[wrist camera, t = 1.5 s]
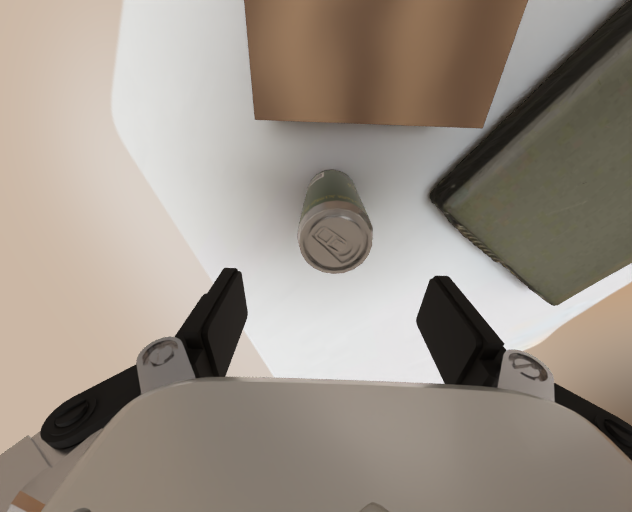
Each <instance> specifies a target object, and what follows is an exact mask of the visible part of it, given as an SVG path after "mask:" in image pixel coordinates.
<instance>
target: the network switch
mask: <svg viewBox="0 0 632 512" xmlns="http://www.w3.org/2000/svg"><path fill="white" fill-rule="evenodd" d="M430 199H431V201H432V203H433V204H435V205H436V206H437V207H438V208H439V209H440V210H441V211H442V212H443V213H444V215H445V216H446V217H447V218H448V221H449V222H450V223H452V225H453V226H454V227H455V228H457V229H458V230H459V232H460V233H461V234H462V235H463V236H464V237H466V238H468V239H469V240H470V241H471V242H473V244H474V245H476V246H477V247H478V248H479V249H481V250H482V251H483V252H484V253H485V254H487V255H488V256H489V257H491V258H492V260H493V261H495V262H501V264H502V265H503V266H504V267H505V268H507V269H509V270H510V272H511V273H512V274H514V275H515V276H517V277H518V279H519V280H520V281H522V282H523V283H524V284H525V285H526V286H528V288H529V289H530V290H532V291H533V292H534V293H536V294H537V295H539V296H540V297H541V298H542V299H544V300H545V301H546V302H548V303H549V304H551V305H553V306H555V305H559V304H560V303H562V302H564V301H565V300H567V299H569V298H570V297H572V296H574V295H576V294H577V293H579V292H581V291H582V290H584V289H586V288H588V287H589V286H591V285H593V284H595V283H596V282H598V281H600V280H602V279H603V278H605V277H607V276H609V275H611V274H612V273H614V272H616V271H618V270H620V269H622V268H623V267H625V266H627V265H629V264H630V263H632V0H630V1H629V2H627V3H626V4H625V5H624V6H623V7H622V8H621V9H620V10H619V11H617V12H616V13H615V14H614V15H613V16H612V17H611V18H610V19H609V20H608V21H607V22H606V23H605V24H604V25H603V26H602V27H601V28H600V29H599V30H598V31H597V32H596V33H595V34H594V35H593V36H592V37H591V38H590V39H588V40H587V41H586V42H585V43H584V44H583V45H582V46H581V47H580V48H579V49H578V50H577V51H576V52H575V53H574V54H573V55H572V56H571V57H570V58H569V59H568V60H567V61H566V62H565V63H564V64H563V65H562V66H561V67H560V68H559V69H558V70H556V71H555V72H554V73H553V74H552V75H551V76H550V77H549V78H548V79H547V80H546V81H545V82H544V83H543V84H542V85H541V86H540V87H539V88H538V89H537V90H536V91H535V92H534V93H533V94H532V95H531V96H530V97H529V98H528V99H527V100H526V101H524V102H523V103H522V104H521V105H520V107H518V108H517V109H516V110H515V111H514V112H513V113H512V114H511V115H510V116H508V117H507V118H506V119H505V120H504V121H503V122H502V123H501V124H500V125H499V126H498V127H497V128H496V129H495V130H494V131H493V132H492V133H491V134H490V135H489V136H488V137H487V138H486V139H485V140H484V141H483V142H482V143H481V144H480V145H479V146H478V147H477V148H476V149H475V150H474V151H472V152H471V153H470V154H469V155H468V156H467V157H466V158H465V159H464V160H463V161H461V163H460V164H459V165H458V166H457V167H456V168H455V169H454V170H453V171H452V172H451V173H450V174H449V175H448V176H447V177H446V178H445V179H443V180H442V181H441V182H440V183H439V184H438V186H437V187H436V188H435V189H434V190H433V191H432V192H431V194H430Z"/></svg>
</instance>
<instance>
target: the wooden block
mask: <svg viewBox="0 0 632 512" xmlns="http://www.w3.org/2000/svg"><path fill="white" fill-rule="evenodd" d="M527 2H528V0H244V3H245V15H246V26H247V37H248V48H249V59H250V70H251V81H252V93H253V104H254V115H255V120H276V121H303V122H329V123H355V124H381V125H408V126H434V127H460V128H483V126H484V123H485V120H486V117H487V115H488V112H489V109H490V106H491V103H492V100H493V98H494V95H495V92H496V89H497V86H498V84H499V81H500V78H501V75H502V72H503V69H504V67H505V64H506V61H507V58H508V55H509V53H510V50H511V47H512V44H513V41H514V38H515V36H516V33H517V30H518V27H519V24H520V22H521V19H522V16H523V13H524V10H525V7H526V5H527Z"/></svg>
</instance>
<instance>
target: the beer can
mask: <svg viewBox="0 0 632 512" xmlns="http://www.w3.org/2000/svg"><path fill="white" fill-rule="evenodd" d="M297 238H298V243H299V247H300V250H301V253H302V255H303V257H304V258H305V260H306V261H307V262H308V263H309V264H310V265H311V266H312V267H313V268H315V269H317V270H320V271H322V272H326V273H332V274H336V273H344V272H347V271H350V270H353V269H355V268H356V267H357V266H359V265H360V264H362V263H363V261H364V260H365V259H366V258H367V256H368V255H369V252H370V249H371V246H372V239H373V228H372V225H371V223H370V220H369V217H368V215H367V213H366V211H365V208H364V206H363V204H362V202H361V199H360V197H359V195H358V193H357V190H356V188H355V186H354V184H353V182H352V180H351V179H350V178H349V177H348V176H347V175H346V174H344V173H342V172H341V171H336V170H327V171H323V172H321V173H319V174H317V175H316V176H315V177H314V178H313V179H312V180H311V182H310V184H309V186H308V188H307V192H306V196H305V201H304V205H303V209H302V214H301V218H300V222H299V227H298V234H297Z"/></svg>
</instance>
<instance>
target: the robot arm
mask: <svg viewBox="0 0 632 512" xmlns="http://www.w3.org/2000/svg"><path fill="white" fill-rule="evenodd" d="M247 315H248V312H247V305H246V299H245V292H244V286H243V280H242V274H241V272H240V271H238V270H237V269H236V268H224V269H223V270H222V272H221V273H220V275H219V276H218V278H217V279H216V281H215V282H214V284H213V286H212V287H211V289H210V290H209V292H208V293H207V294H204V295H203V296H202V297H201V299H200V300H199V302H198V303H197V305H196V306H195V308H194V309H193V310H192V312H191V314H190V315H189V317H188V318H187V319H186V321H185V323H184V324H183V325H182V327H181V328H180V330H179V331H178V333H177V334H176V335H175V337H165V338H161V339H158V340H156V341H154V342H152V343H150V344H149V345H147V346H146V347H145V348H144V349H143V350H142V351H141V352H140V354H139V355H138V357H137V363H136V365H134V366H132V367H130V368H128V369H126V370H124V371H123V372H121V373H119V374H117V375H115V376H113V377H111V378H109V379H107V380H105V381H103V382H101V383H100V384H97V385H96V386H93V387H92V388H90V389H88V390H86V391H84V392H82V393H80V394H78V395H76V396H74V397H72V398H71V399H69V400H67V401H66V402H64V403H63V404H61V405H60V406H59V407H58V408H56V409H55V410H54V411H53V412H52V413H51V414H50V415H49V416H48V418H47V419H46V421H45V422H44V424H43V426H42V428H41V431H40V432H39V433H37V434H36V435H35V436H33V437H32V438H31V437H30V436H26V437H25V438H24V439H22V440H21V441H19V442H18V443H16V444H15V445H14V446H12V447H11V448H9V449H8V450H7V451H5V452H4V453H2V454H1V455H0V512H632V426H631V425H629V424H628V423H626V422H625V421H623V420H621V419H620V418H618V417H616V416H615V415H613V414H611V413H609V412H607V411H605V410H603V409H602V408H600V407H598V406H596V405H594V404H592V403H591V402H589V401H587V400H585V399H583V398H581V397H579V396H578V395H576V394H574V393H572V392H570V391H568V390H566V389H565V388H563V387H561V386H559V385H557V384H556V383H554V378H553V374H552V373H551V371H550V370H549V368H548V367H547V366H546V365H545V364H544V363H542V362H541V361H540V360H538V359H537V358H536V357H534V356H532V355H530V354H528V353H525V352H523V351H520V350H507V351H506V349H505V348H504V347H503V345H504V343H503V342H502V340H501V339H500V338H499V337H498V335H497V334H496V333H495V332H494V331H493V329H492V328H491V327H490V326H489V325H488V323H487V322H486V321H485V320H484V319H483V317H482V316H481V315H480V314H479V312H478V311H477V310H476V309H475V308H474V306H473V305H472V304H471V303H470V302H469V300H468V299H467V298H466V297H465V295H464V294H463V293H462V292H461V291H460V289H459V288H458V287H457V286H456V285H455V283H454V282H453V281H452V280H451V279H450V277H448V276H435V277H434V278H433V279H430V281H429V284H428V287H427V290H426V292H425V295H424V298H423V301H422V304H421V307H420V310H419V313H418V315H417V319H416V322H417V326H418V328H419V330H420V332H421V334H422V336H423V339H424V341H425V343H426V345H427V347H428V349H429V351H430V353H431V356H432V358H433V360H434V362H435V364H436V366H437V368H438V370H439V372H440V375H441V377H442V379H443V381H444V383H445V384H433V383H409V382H386V381H359V380H332V379H302V378H271V377H225V375H226V373H227V370H228V367H229V365H230V362H231V359H232V357H233V354H234V351H235V349H236V346H237V343H238V341H239V338H240V335H241V333H242V330H243V328H244V325H245V322H246V320H247Z"/></svg>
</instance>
